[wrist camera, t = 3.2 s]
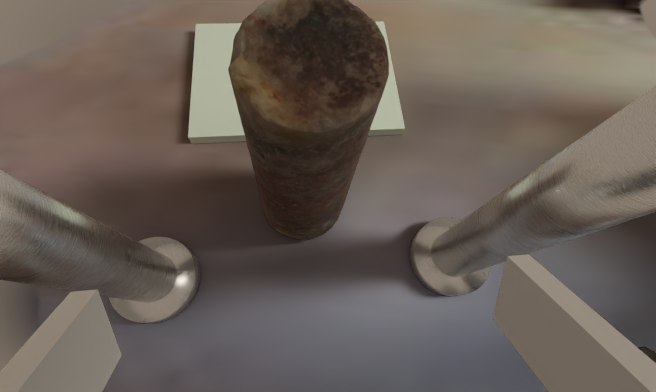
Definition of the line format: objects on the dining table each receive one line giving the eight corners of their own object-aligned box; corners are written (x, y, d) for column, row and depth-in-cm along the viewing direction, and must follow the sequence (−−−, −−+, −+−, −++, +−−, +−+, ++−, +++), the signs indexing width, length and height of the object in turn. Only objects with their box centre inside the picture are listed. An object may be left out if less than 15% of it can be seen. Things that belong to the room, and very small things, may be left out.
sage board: (198, 32, 40) (196, 24, 39) (381, 29, 42) (383, 21, 41) (191, 143, 35) (187, 137, 33) (401, 134, 37) (404, 128, 35)
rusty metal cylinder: (353, 188, 34) (413, 18, 15) (326, 256, 31) (358, 149, 13) (283, 161, 34) (258, -35, 16) (251, 225, 32) (175, 79, 13)
